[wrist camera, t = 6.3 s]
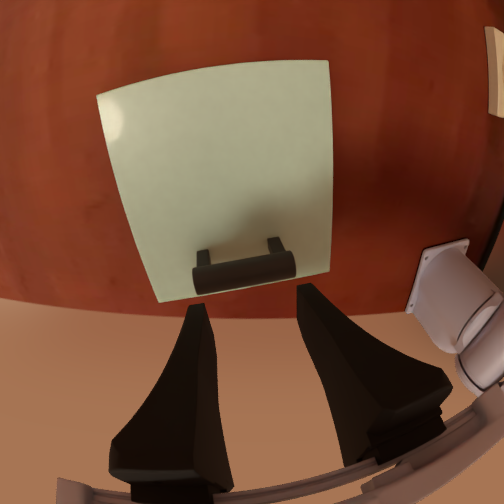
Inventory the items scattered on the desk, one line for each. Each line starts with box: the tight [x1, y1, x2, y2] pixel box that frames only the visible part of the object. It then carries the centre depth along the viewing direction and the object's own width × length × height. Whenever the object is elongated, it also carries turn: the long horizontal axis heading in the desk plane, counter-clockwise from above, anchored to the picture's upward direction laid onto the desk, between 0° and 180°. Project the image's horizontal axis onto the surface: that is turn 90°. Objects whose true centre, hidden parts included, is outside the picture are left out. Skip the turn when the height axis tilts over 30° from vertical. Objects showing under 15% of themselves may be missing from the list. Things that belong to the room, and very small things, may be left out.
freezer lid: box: [96, 60, 333, 303], centre depth 13 cm, size 13×11×4 cm
